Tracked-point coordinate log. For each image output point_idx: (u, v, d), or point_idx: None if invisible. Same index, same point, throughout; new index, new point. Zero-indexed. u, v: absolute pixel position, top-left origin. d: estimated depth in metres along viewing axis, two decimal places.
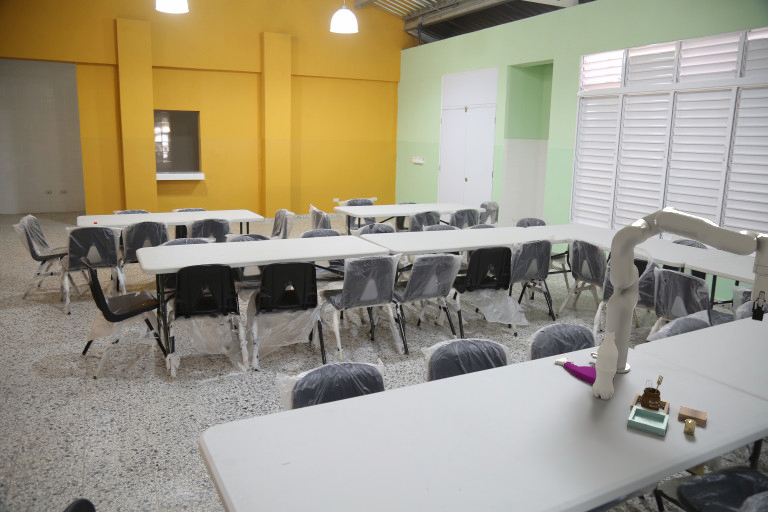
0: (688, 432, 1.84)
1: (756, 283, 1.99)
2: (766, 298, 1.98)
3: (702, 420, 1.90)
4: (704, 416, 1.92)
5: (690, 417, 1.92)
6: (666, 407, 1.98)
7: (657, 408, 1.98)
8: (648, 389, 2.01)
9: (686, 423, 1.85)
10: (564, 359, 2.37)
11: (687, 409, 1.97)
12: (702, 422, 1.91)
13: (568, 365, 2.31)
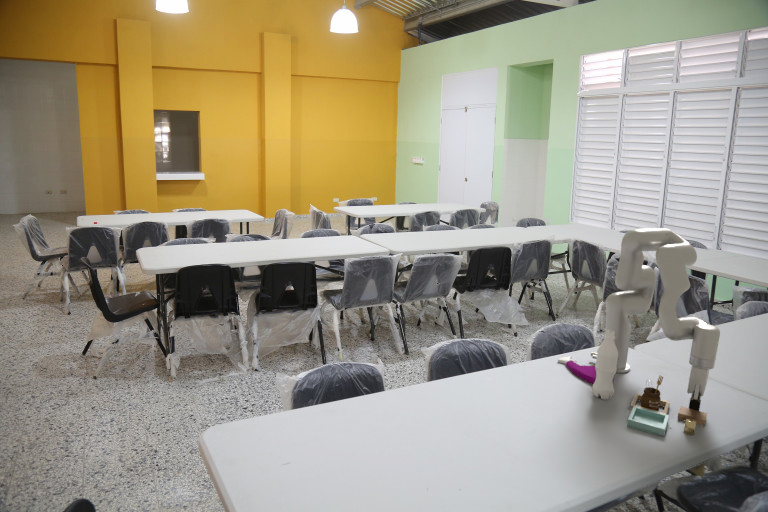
0: (688, 432, 1.84)
1: (692, 375, 1.92)
2: (702, 391, 1.91)
3: (701, 420, 1.90)
4: (704, 416, 1.92)
5: (690, 417, 1.92)
6: (666, 407, 1.98)
7: (657, 408, 1.98)
8: (648, 389, 2.01)
9: (686, 423, 1.85)
10: (567, 358, 2.38)
11: (687, 409, 1.96)
12: (701, 422, 1.90)
13: (570, 364, 2.32)
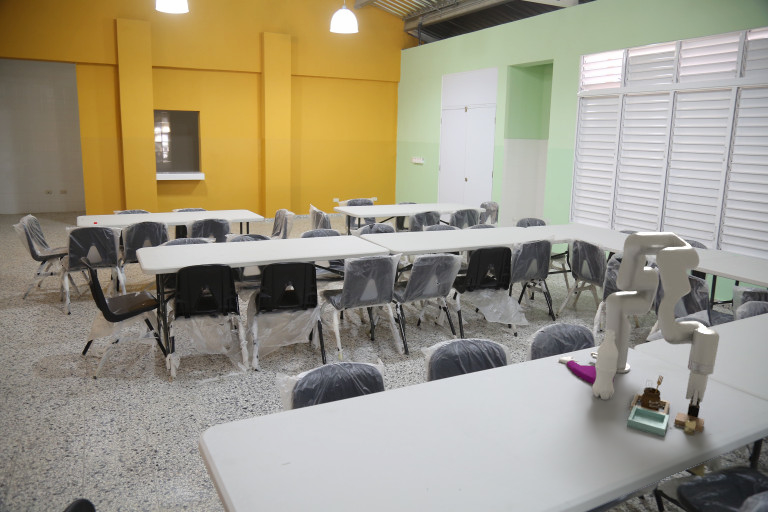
0: (688, 432, 1.84)
1: (690, 381, 1.88)
2: (700, 397, 1.87)
3: (698, 427, 1.86)
4: (701, 423, 1.88)
5: None
6: (666, 407, 1.98)
7: (657, 408, 1.98)
8: (648, 389, 2.01)
9: (686, 423, 1.85)
10: (568, 358, 2.38)
11: (684, 415, 1.93)
12: (698, 428, 1.86)
13: (570, 364, 2.32)
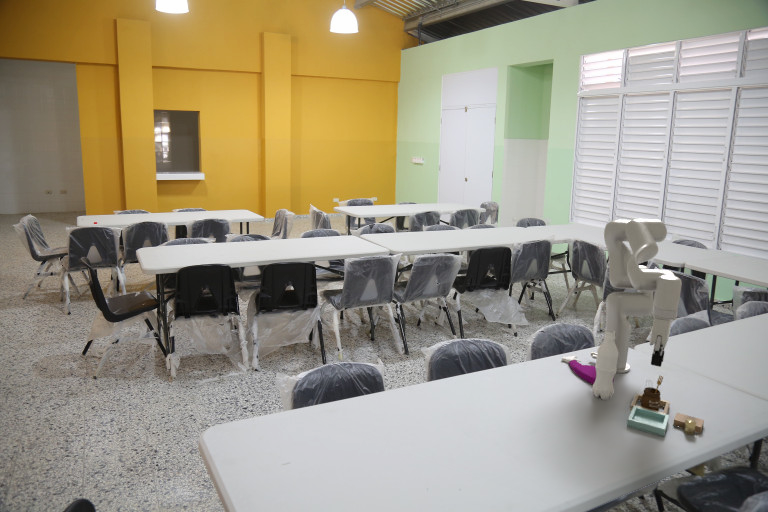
0: (688, 432, 1.84)
1: (653, 326, 1.91)
2: (663, 342, 1.90)
3: (698, 427, 1.86)
4: (700, 423, 1.87)
5: None
6: (666, 407, 1.98)
7: (657, 408, 1.98)
8: (648, 389, 2.01)
9: (686, 423, 1.85)
10: (572, 357, 2.39)
11: (683, 416, 1.92)
12: (697, 429, 1.86)
13: (572, 363, 2.33)
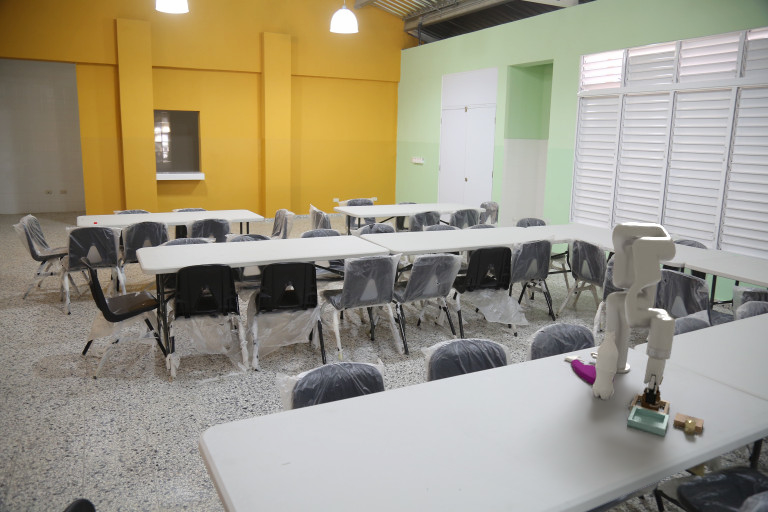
0: (688, 432, 1.84)
1: (648, 366, 1.94)
2: (657, 381, 1.93)
3: (698, 427, 1.86)
4: (700, 423, 1.88)
5: None
6: (666, 407, 1.98)
7: (657, 408, 1.98)
8: None
9: (686, 423, 1.85)
10: (575, 357, 2.40)
11: (683, 416, 1.92)
12: (697, 429, 1.86)
13: (574, 362, 2.34)
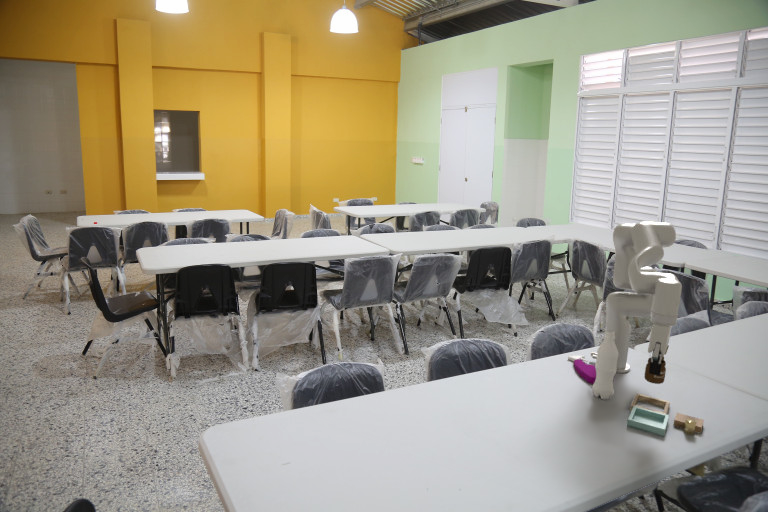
0: (688, 432, 1.84)
1: (652, 333, 1.80)
2: (662, 350, 1.79)
3: (698, 427, 1.86)
4: (700, 423, 1.88)
5: None
6: (666, 407, 1.98)
7: (662, 379, 1.84)
8: None
9: (686, 423, 1.85)
10: (578, 357, 2.40)
11: (683, 416, 1.92)
12: (698, 429, 1.86)
13: (576, 362, 2.34)
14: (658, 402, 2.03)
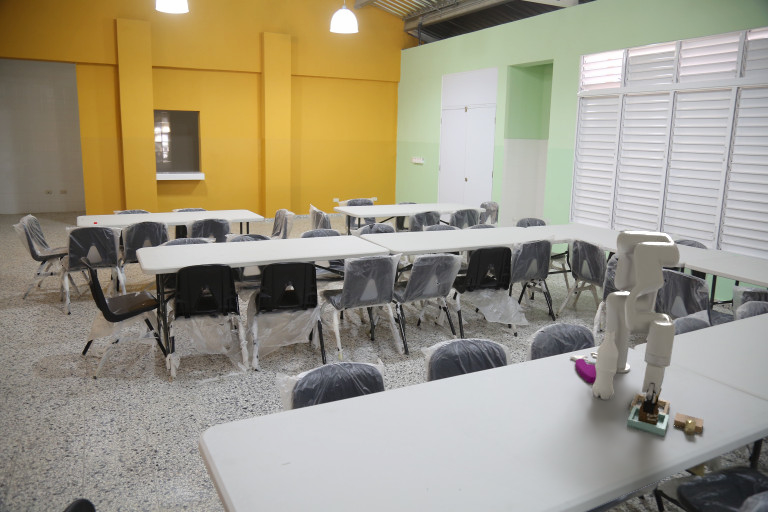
0: (688, 432, 1.84)
1: (646, 373, 1.83)
2: (656, 390, 1.82)
3: (698, 427, 1.86)
4: (700, 423, 1.88)
5: None
6: (666, 407, 1.98)
7: (655, 421, 1.87)
8: None
9: (686, 423, 1.85)
10: (581, 356, 2.40)
11: (683, 416, 1.92)
12: (698, 429, 1.86)
13: (577, 361, 2.35)
14: (658, 402, 2.03)
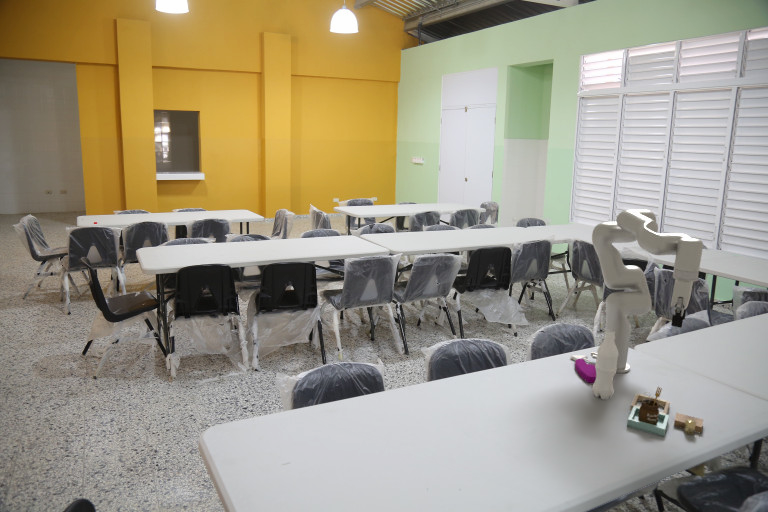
0: (688, 432, 1.84)
1: (675, 288, 1.93)
2: (685, 304, 1.92)
3: (698, 427, 1.86)
4: (700, 423, 1.88)
5: None
6: (666, 407, 1.98)
7: (655, 421, 1.87)
8: (646, 401, 1.91)
9: (686, 423, 1.85)
10: (581, 356, 2.40)
11: (683, 416, 1.92)
12: (698, 429, 1.86)
13: (577, 361, 2.35)
14: (658, 402, 2.03)
